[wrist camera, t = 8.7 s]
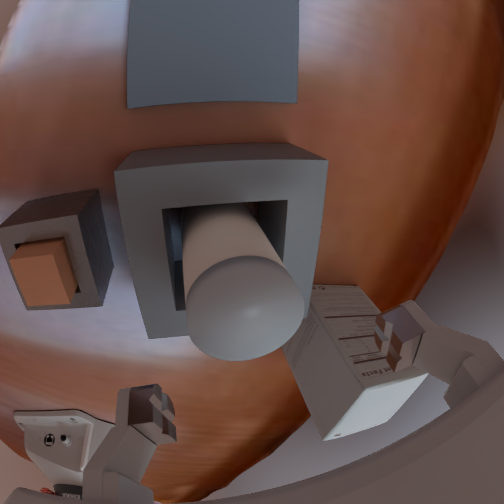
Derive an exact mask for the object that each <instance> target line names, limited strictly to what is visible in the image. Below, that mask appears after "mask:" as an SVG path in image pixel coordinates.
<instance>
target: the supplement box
mask: <svg viewBox="0 0 504 504" xmlns="http://www.w3.org/2000/svg"><path fill="white" fill-rule="evenodd" d="M380 313H381V312H380V310H379V309H378V308H377V307H376V306H375V305H374V303H373V302H372V301H371V300H370V299H369V298H368V296H367V295H366V294H365V293H364V292H363V291H362V289H361V288H360V287H359V286H350V285H320V284H313V285H312V291H311V297H310V303H309V308H308V314H307V318H304V319H302V322H301V324H300V326H299V328H298V329H297V331H296V332H295V334H294V335H293V336H292V337H291V338H290V339H289V340H288V341H287V342H286V343H285V344H283V345H282V346H281V348H282V350H283V353H284V355H285V357H286V359H287V362H288V364H289V366H290V368H291V371H292V373H293V375H294V377H295V380H296V382H297V384H298V387H299V389H300V391H301V393H302V396H303V398H304V400H305V402H306V405H307V407H308V409H309V411H310V414H311V416H312V418H313V420H314V423H315V425H316V427H317V429H318V431H319V434H320V435H321V438H322V440H330V439H335V438H339V437H343V436H346V435H349V434H352V433H356V432H359V431H362V430H365V429H368V428H371V427H374V426H376V425H380V424H382V423H384V422H387V421H388V420H389V419H390V418H391V417H392V416H393V415H394V413H395V412H396V411H397V410H398V409H399V408H400V407H401V406H402V405H403V403H404V402H405V401H406V400H407V399H408V398H409V397H410V395H411V394H412V393H413V392H414V391H415V390H416V388H417V387H418V386H419V385H420V384H421V382H422V381H423V380H424V379H425V377H426V376H427V375H428V374H429V373H427V372H425V371H423V370H421V369H419V368H417V367H415V366H414V365H413V364H412V365H410V366H408V367H406V368H404V369H402V370H400V371H398V372H395V373H394V372H393V370H392V368H391V367H390V365H389V364H388V362H387V361H386V358H387V355H386V354H384V353H382V352H380V350H379V349H378V347H377V345H376V343H375V339H374V330H375V328H376V327H377V324H376V322H375V320H376V316H377V315H378V314H380Z"/></svg>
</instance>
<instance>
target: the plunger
mask: <svg viewBox="0 0 504 504" xmlns="http://www.w3.org/2000/svg"><path fill="white" fill-rule="evenodd" d="M9 262H10V264H11V267H12V270H13V272H14V275H15V277H16V280H17V282H18V285H19V287H20V290H21V292H22V294H23V296H24V299H25V301H26V303H27V305H28V306H42V305H60V304H70V303H71V301H72V298H73V296H74V293H75V291H76V288H77V286H78V282H77V279H76V276H75V273H74V269H73V266H72V263H71V260H70V256H69V253H68V249H67V246H66V242H65V238H64V237H57V238H50V239H43V240H36V241H30V242H23V243H22V244H21V245H20V247H19V248H18V249H17V250H16V252H15V253H14V254H13V255H12V256H11V258H10V259H9Z"/></svg>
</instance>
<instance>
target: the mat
mask: <svg viewBox="0 0 504 504" xmlns="http://www.w3.org/2000/svg"><path fill="white" fill-rule="evenodd" d="M298 45H299V0H131V2H130V13H129V27H128V47H127V109H130V108H138V107H146V106H155V105H165V104H177V103H193V102H219V101H253V102H279V103H296V104H297V84H298Z"/></svg>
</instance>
